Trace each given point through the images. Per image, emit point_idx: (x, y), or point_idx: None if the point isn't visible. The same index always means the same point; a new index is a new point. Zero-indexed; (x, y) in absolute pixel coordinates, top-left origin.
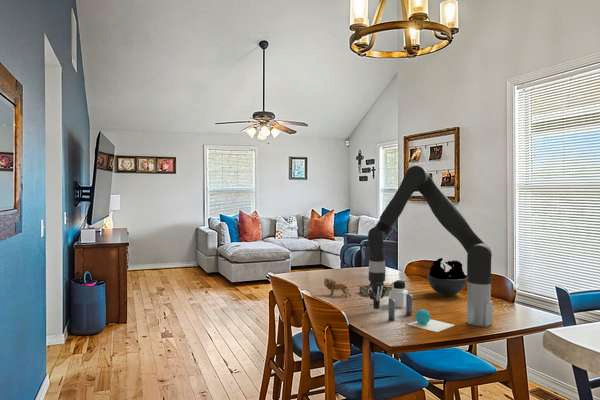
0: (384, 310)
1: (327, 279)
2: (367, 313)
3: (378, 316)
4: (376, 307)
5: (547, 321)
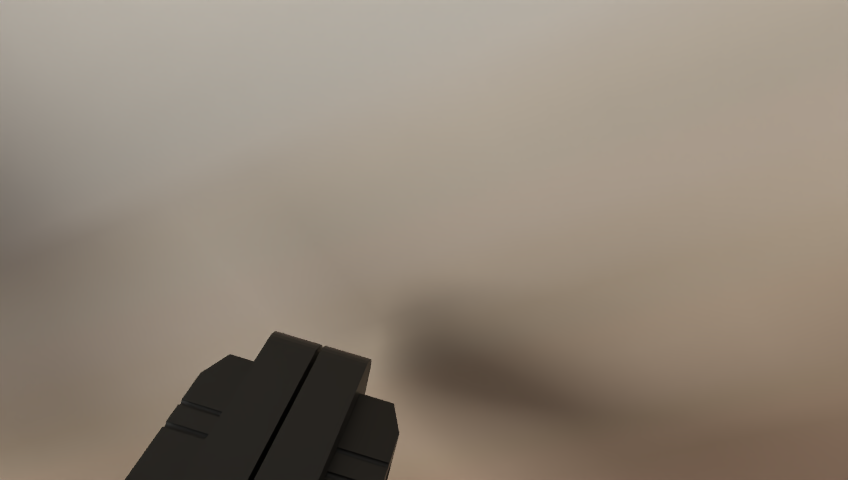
0: (87, 202)
1: None
2: (635, 456)
3: (831, 123)
4: (368, 405)
5: None
